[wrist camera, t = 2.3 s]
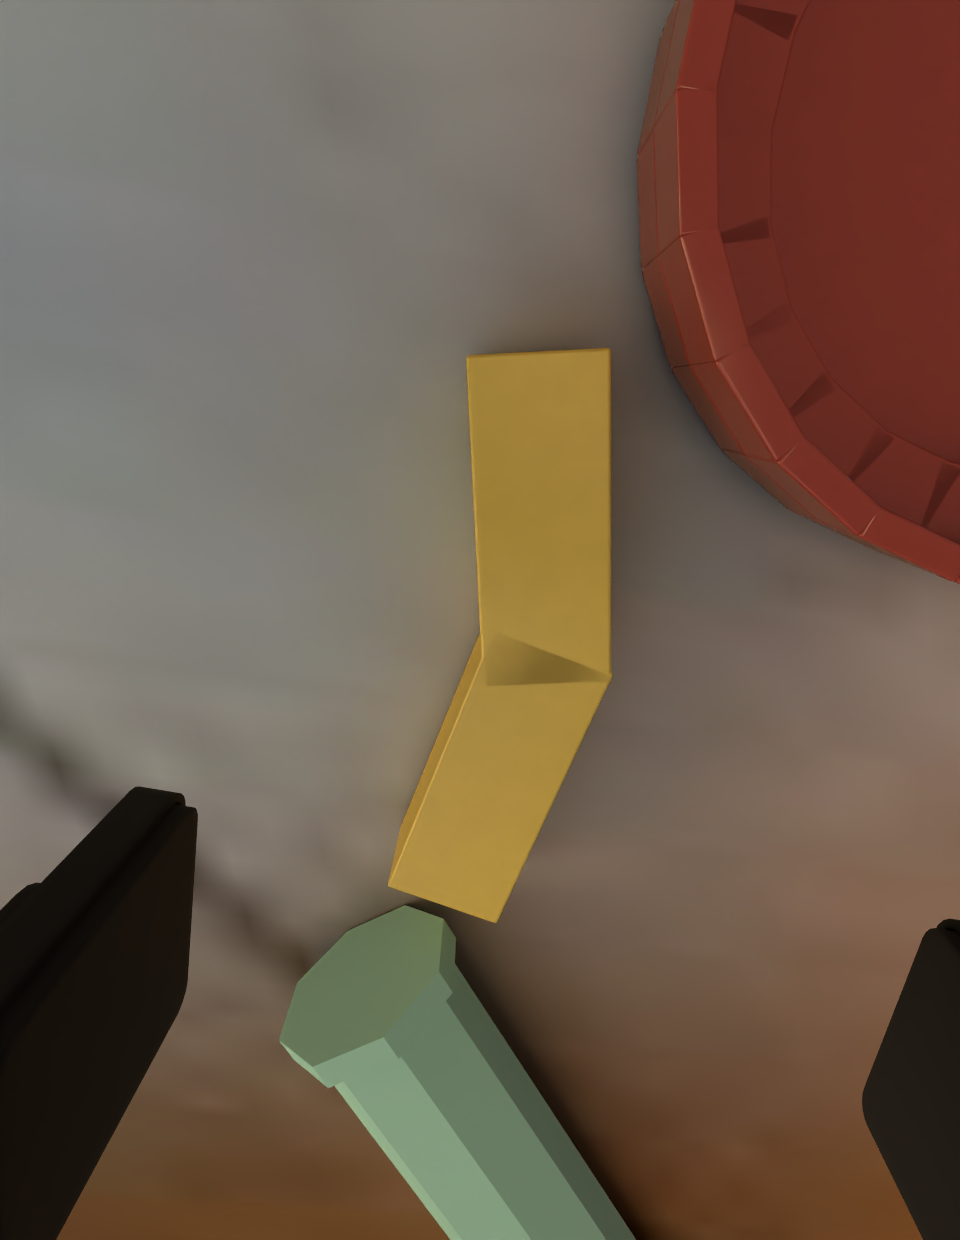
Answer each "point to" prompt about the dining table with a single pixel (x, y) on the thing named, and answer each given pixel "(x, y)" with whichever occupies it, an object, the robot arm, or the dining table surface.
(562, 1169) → the pale green faceted rod
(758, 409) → the bowl
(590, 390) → the banana
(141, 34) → the dining table surface
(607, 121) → the dining table surface
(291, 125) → the dining table surface
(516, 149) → the dining table surface
